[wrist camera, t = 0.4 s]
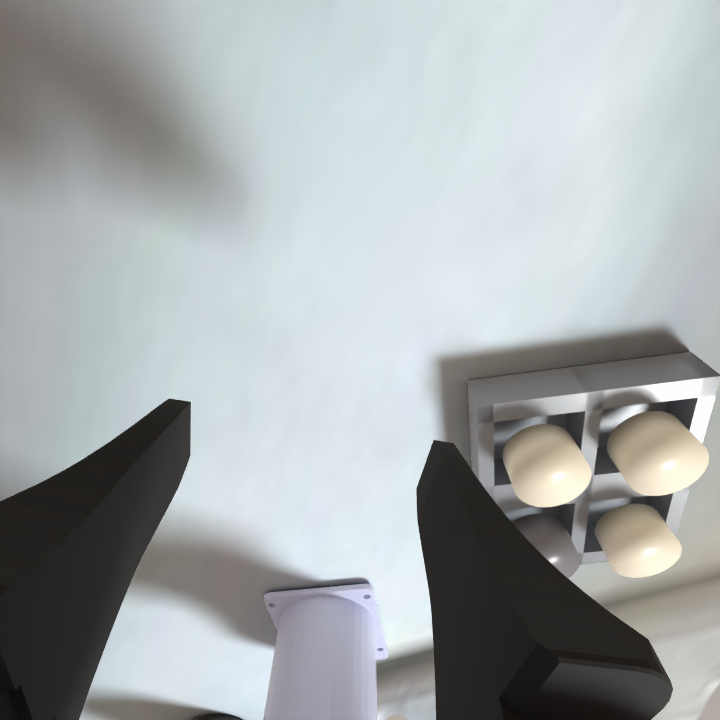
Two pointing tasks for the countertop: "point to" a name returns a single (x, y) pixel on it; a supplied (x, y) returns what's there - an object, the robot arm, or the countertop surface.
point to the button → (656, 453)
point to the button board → (587, 430)
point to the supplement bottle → (216, 717)
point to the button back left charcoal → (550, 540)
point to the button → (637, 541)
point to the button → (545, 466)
